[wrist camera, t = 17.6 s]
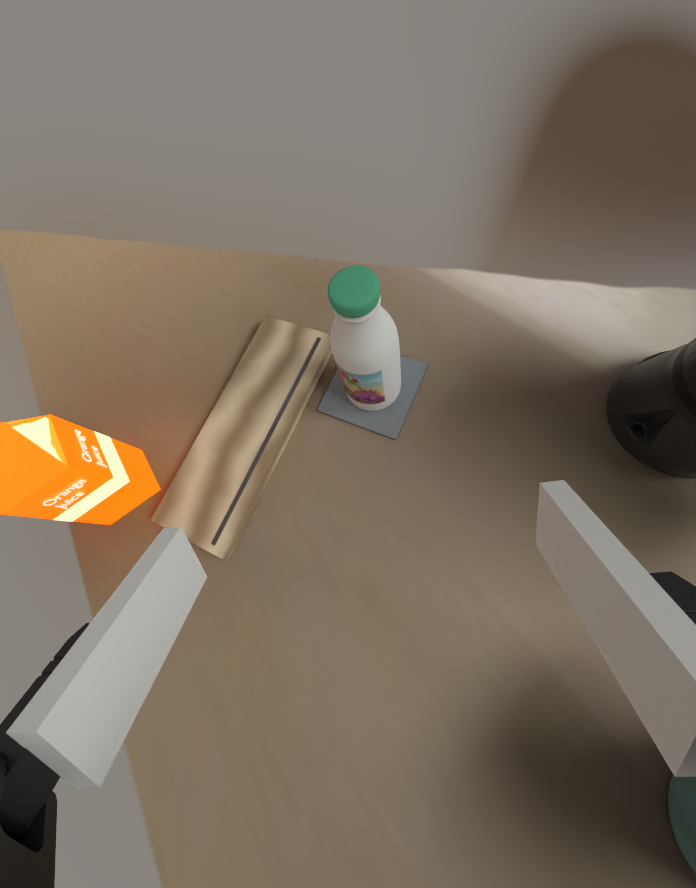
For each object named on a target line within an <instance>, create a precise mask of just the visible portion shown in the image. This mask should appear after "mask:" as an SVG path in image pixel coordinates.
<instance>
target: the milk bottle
mask: <svg viewBox="0 0 696 888" xmlns="http://www.w3.org/2000/svg"><path fill="white" fill-rule="evenodd" d="M328 296H329V300H330V303H331V306H332V310H333V312H334V314H335V315H336V316H335V319H334V322H333V325H332V328H331V333H330V345H331V351H332V355H333V358H334V361H335V364H336V367H337V369H338V372H339V375H340V378H341V380H342V383H343V385H344V388H345V391H346V393H347V395H348V397H349V399H350V401H351V402H352V403H353V404H354V405H355V406H357V407H358V408H360V409H363V410H367V411H377V410H381V409H384V408H386V407H388V406H389V405H391V404H392V403H393V402H394V401H395V400H396V398H397V397H398V395H399V392H400V389H401V366H400V347H399V337H398V332H397V328H396V326H395V323H394V321H393V319H392V318H391V316H390V315H389V313H388V312H387V311H386V310H385V309H384V308H383V307H382V306H381V305H380V302H381V296H380V286H379V281H378V278H377V276H376V275H375V273H374V272H373V271H371V270H370V269H368V268H366V267H363V266H350V267H347V268H344V269H342V270H340V271H339V272H337V273H336V274H335V275H334V276H333V277H332V279H331V281H330V283H329V286H328Z"/></svg>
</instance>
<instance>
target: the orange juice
mask: <svg viewBox="0 0 696 888" xmlns="http://www.w3.org/2000/svg"><path fill="white" fill-rule="evenodd" d="M159 490H161V489H160V487H159V485H158V483H157V481H156V479H155V476H154V474H153V472H152V470H151V468H150V466H149V464H148V462H147V460H146V458H145V455H144V453H143V451H142V450H140V449H138V448H135V447H133V446H130V445H128V444H125V443H122V442H120V441H117V440H115V439H112V438H110V437H108V436H106V435H103V434H101V433H98V432H95V431H92V430H89V429H86V428H84V427H81V426H79V425H76V424H74V423H71V422H68V421H66V420H63V419H61V418H58V417H56V416H53V415H50V414H48V415H46V416H40V417H34V418H29V419H23V420H17V421H11V422H3V421H2V422H1V423H0V515H12V516H22V517H33V518H43V519H53V520H59V521H69V522H73V521H74V522H84V523H94V524H105V525H111V524H113V523H114V522H115V521H117V520H118V519H120V518H121V517H122V516H124V515H125V514H127V513H128V512H130V511H131V510H132V509H134V508H135V507H137V506H138V505H139V504H141V503H142V502H144V501H145V500H147V499H148V498H149V497H151V496H152V495H154V494H155V493H156V492H158V491H159Z"/></svg>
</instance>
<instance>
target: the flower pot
mask: <svg viewBox="0 0 696 888" xmlns="http://www.w3.org/2000/svg"><path fill="white" fill-rule="evenodd" d="M668 808H669V816H670V821H671V825H672V829H673V832H674V835H675V838H676V841H677V843H678V845H679V847H680V850H681V852H682V854H683V855H684V857H685V859H686V861H687V862H688V864H689V865H690V867H691V868H692V870H693V871H694V873H695V874H696V777H675V776H674V775H672V778H671V781H670V785H669V790H668Z"/></svg>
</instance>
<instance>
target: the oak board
mask: <svg viewBox="0 0 696 888" xmlns="http://www.w3.org/2000/svg"><path fill="white" fill-rule="evenodd" d="M331 355H332V351H331V345H330V334H326V333H323V332H320V331H316V330H313V329H310V328H306V327H303V326H300V325H297V324H293V323H290V322H287V321H283V320H280V319H277V318H273V317H270V316H267V315H266V316H265V317H264V319H263V321H262V323H261V325H260V326H259V328H258V330H257V332H256V333H255V335H254V337H253V339H252V341H251V342H250V344H249V346H248V348H247V349H246V351H245V353H244V355H243V357H242V358H241V360H240V362H239V364H238V365H237V367H236V369H235V371H234V373H233V374H232V376H231V378H230V380H229V381H228V383H227V385H226V387H225V389H224V390H223V392H222V394H221V396H220V397H219V399H218V401H217V403H216V405H215V406H214V408H213V410H212V412H211V413H210V415H209V417H208V419H207V421H206V422H205V424H204V426H203V428H202V429H201V431H200V433H199V435H198V437H197V438H196V440H195V442H194V444H193V445H192V447H191V449H190V451H189V453H188V454H187V456H186V458H185V460H184V461H183V463H182V465H181V467H180V469H179V470H178V472H177V474H176V476H175V477H174V479H173V481H172V483H171V485H170V486H169V488H168V490H167V492H166V493H165V495H164V497H163V499H162V501H161V502H160V504H159V506H158V508H157V509H156V511H155V513H154V515H153V517H152V518H151V521H153V522H155V523H157V524H158V525H160V526H162V527H164V528H172V527H180V526H181V527H182V529H183V531H184V533H185V535H186V537H187V539H188V541H190V542H191V543H193V544H195V545H197V546H199V547H200V548H202V549H204V550H206V551H208V552H210V553H211V554H213V555H215V556H217V557H219V558H221V559H230V557H231V555H232V553H233V551H234V549H235V547H236V545H237V543H238V541H239V539H240V537H241V535H242V533H243V531H244V529H245V527H246V525H247V523H248V521H249V519H250V517H251V515H252V513H253V511H254V509H255V507H256V505H257V503H258V501H259V499H260V497H261V495H262V493H263V491H264V489H265V487H266V485H267V483H268V481H269V479H270V477H271V475H272V473H273V471H274V469H275V467H276V465H277V463H278V461H279V459H280V457H281V455H282V453H283V451H284V449H285V447H286V445H287V443H288V441H289V439H290V437H291V435H292V433H293V431H294V429H295V427H296V425H297V423H298V421H299V419H300V417H301V415H302V413H303V411H304V409H305V407H306V405H307V403H308V401H309V399H310V397H311V395H312V393H313V391H314V389H315V387H316V385H317V383H318V381H319V379H320V377H321V375H322V373H323V371H324V369H325V367H326V365H327V363H328V361H329V359H330V357H331Z"/></svg>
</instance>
